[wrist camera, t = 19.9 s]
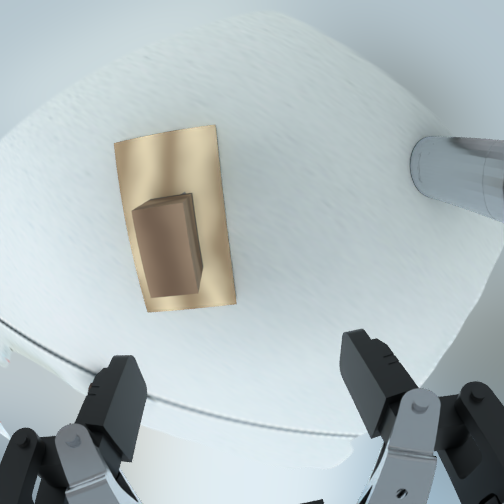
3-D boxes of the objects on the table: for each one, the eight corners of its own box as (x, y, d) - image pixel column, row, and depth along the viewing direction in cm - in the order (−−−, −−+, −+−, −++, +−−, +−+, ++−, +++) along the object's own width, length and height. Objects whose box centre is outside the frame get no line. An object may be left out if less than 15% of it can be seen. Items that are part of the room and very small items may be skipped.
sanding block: (192, 192, 31) (182, 202, 25) (203, 266, 34) (198, 293, 28) (150, 199, 31) (131, 210, 24) (163, 271, 34) (150, 298, 27)
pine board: (215, 126, 31) (215, 124, 29) (235, 296, 38) (236, 304, 36) (119, 143, 30) (113, 143, 28) (151, 305, 38) (147, 312, 36)
